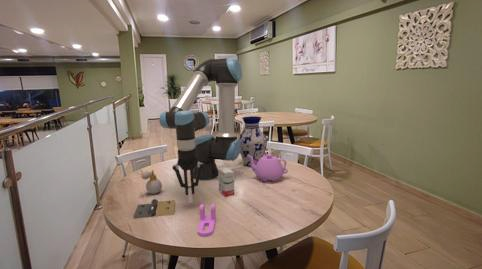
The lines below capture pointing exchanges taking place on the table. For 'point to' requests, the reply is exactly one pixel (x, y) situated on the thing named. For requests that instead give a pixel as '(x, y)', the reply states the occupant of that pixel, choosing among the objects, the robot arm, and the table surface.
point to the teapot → (268, 168)
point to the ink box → (226, 181)
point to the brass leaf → (165, 208)
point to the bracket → (206, 221)
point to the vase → (252, 140)
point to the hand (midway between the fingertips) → (190, 201)
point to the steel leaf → (146, 209)
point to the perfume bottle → (152, 182)
